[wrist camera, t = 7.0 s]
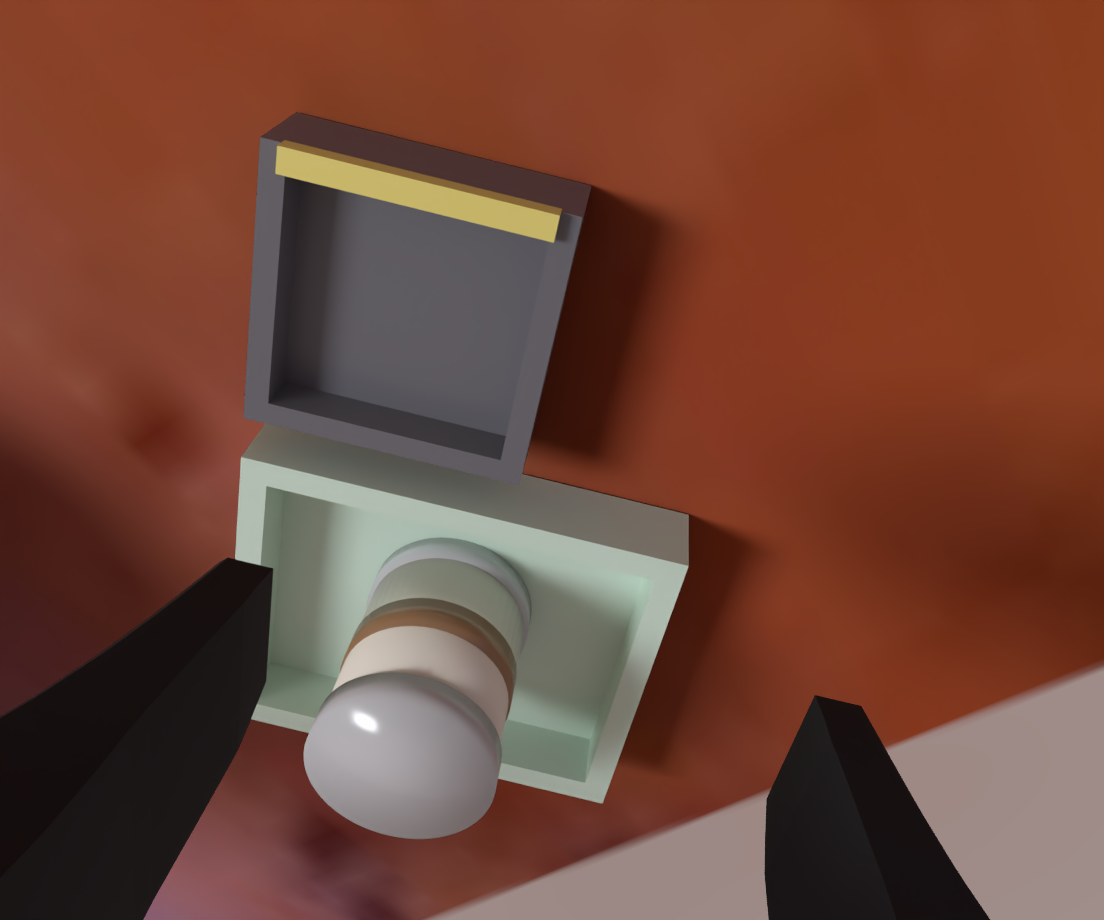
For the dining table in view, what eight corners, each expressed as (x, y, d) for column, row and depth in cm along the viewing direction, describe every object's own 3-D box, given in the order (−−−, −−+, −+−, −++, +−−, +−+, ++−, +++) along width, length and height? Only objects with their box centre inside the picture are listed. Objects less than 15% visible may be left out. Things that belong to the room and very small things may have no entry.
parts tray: (688, 514, 24) (688, 565, 22) (607, 745, 28) (602, 803, 27) (272, 412, 24) (241, 456, 22) (253, 660, 28) (225, 713, 26)
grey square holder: (591, 184, 20) (581, 221, 18) (531, 438, 23) (517, 491, 22) (296, 111, 20) (255, 140, 18) (275, 375, 23) (239, 423, 21)
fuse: (534, 546, 24) (497, 713, 20) (529, 671, 26) (494, 849, 22) (370, 529, 25) (295, 689, 20) (377, 654, 27) (310, 826, 22)
